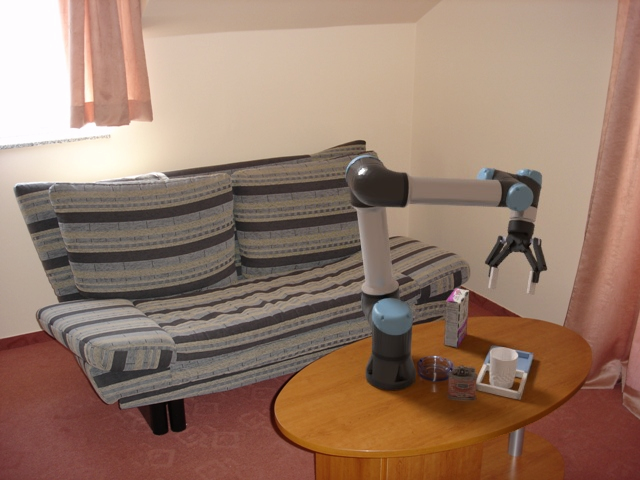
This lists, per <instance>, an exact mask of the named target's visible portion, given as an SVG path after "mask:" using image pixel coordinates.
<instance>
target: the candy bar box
mask: <svg viewBox="0 0 640 480" xmlns="http://www.w3.org/2000/svg"><path fill="white" fill-rule="evenodd" d="M469 295H470V290H468V289H463V288H457V287H455V288H454V289H453V291H452V292H451V294H450V295H449V296H448V297H447V299H446V300H445V320H444V342H443V344H444V346H445V347H452V348H459V347H460V345H461V343H462V342H463V340H464V338H465V337H466V335H467V334H468V330H467V329H468V317H469V316H468V314H469V298H470V296H469Z"/></svg>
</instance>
